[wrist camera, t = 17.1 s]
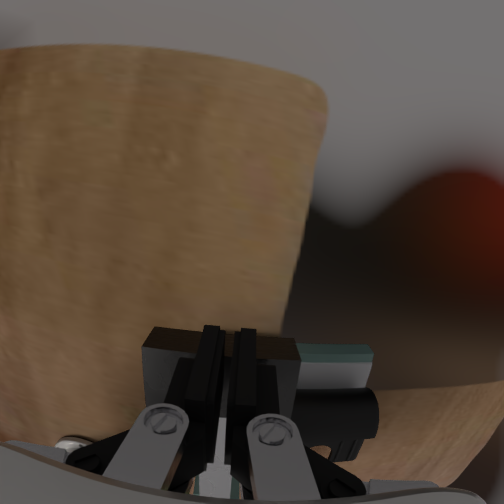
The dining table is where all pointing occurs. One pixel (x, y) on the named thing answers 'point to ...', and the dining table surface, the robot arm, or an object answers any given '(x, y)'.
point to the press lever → (267, 353)
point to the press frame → (325, 375)
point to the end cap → (336, 419)
